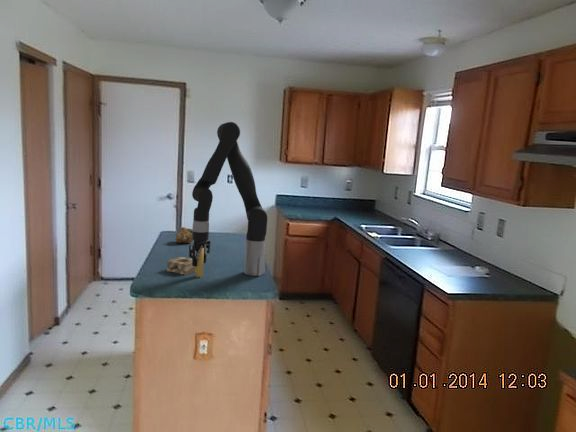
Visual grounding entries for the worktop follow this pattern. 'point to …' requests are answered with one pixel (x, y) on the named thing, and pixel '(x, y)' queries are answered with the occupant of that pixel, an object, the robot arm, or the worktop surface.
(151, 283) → the worktop surface
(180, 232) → the rock
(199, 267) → the peg
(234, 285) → the worktop surface
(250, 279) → the worktop surface
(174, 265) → the socket mount
